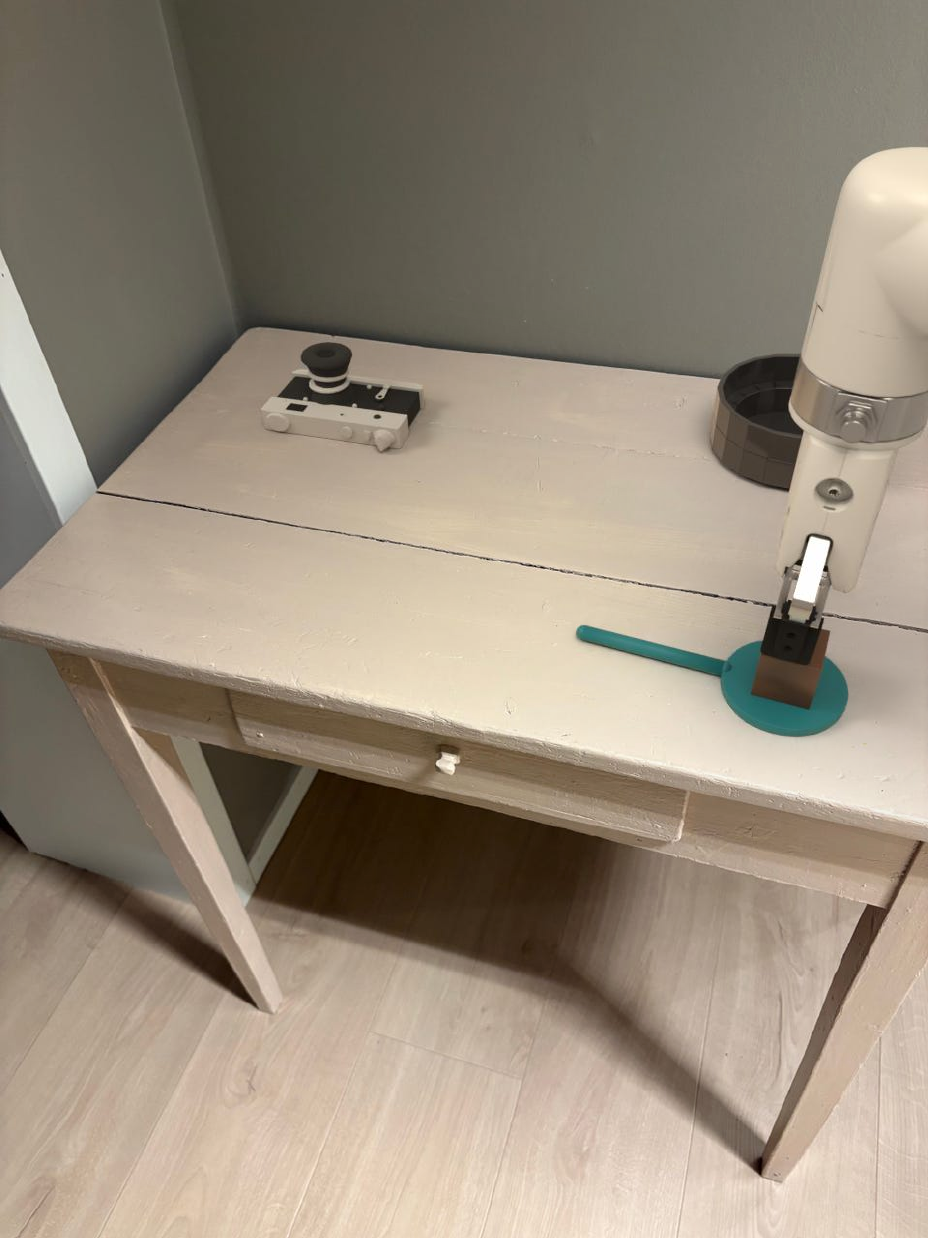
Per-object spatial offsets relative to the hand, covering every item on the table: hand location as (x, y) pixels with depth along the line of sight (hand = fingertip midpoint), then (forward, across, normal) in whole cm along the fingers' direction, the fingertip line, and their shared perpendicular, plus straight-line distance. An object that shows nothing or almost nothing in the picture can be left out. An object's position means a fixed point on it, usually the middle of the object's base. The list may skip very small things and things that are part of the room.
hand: (797, 609), depth 66 cm
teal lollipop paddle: (+8, 0, +5) cm, 10 cm away
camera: (+9, +22, +48) cm, 54 cm away
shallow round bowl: (+8, +32, +4) cm, 33 cm away
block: (+7, 0, -1) cm, 7 cm away
